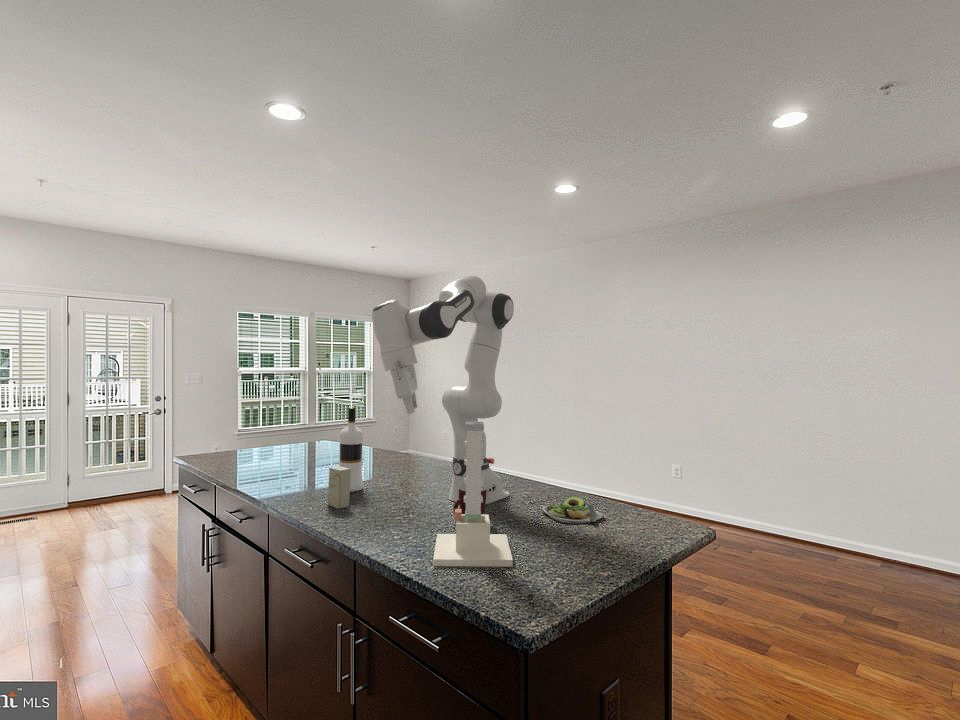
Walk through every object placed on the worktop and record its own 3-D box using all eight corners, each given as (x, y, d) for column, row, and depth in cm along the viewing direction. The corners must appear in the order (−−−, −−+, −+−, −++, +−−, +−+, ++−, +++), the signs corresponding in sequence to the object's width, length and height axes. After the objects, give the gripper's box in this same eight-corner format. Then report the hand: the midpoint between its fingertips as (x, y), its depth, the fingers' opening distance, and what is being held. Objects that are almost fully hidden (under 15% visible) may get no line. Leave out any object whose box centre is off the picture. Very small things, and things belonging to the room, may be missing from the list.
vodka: (347, 494, 179) (349, 408, 179) (331, 489, 184) (333, 407, 185) (368, 489, 186) (370, 407, 186) (352, 485, 192) (354, 406, 192)
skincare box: (327, 505, 163) (328, 467, 164) (339, 502, 167) (339, 465, 167) (338, 509, 159) (339, 470, 160) (350, 506, 163) (351, 468, 163)
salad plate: (618, 525, 148) (619, 509, 149) (563, 529, 143) (563, 513, 143) (586, 508, 167) (586, 493, 167) (536, 511, 162) (536, 496, 162)
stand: (437, 539, 132) (438, 501, 132) (506, 540, 132) (506, 501, 133) (432, 566, 114) (433, 521, 114) (512, 566, 115) (513, 522, 115)
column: (463, 515, 127) (465, 421, 127) (481, 515, 127) (483, 421, 127) (463, 523, 120) (465, 424, 121) (482, 523, 120) (484, 424, 121)
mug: (466, 531, 139) (466, 494, 140) (446, 524, 145) (446, 489, 145) (491, 523, 147) (492, 488, 147) (471, 517, 152) (472, 484, 153)
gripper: (407, 359, 125) (421, 413, 126) (414, 357, 146) (426, 403, 146) (382, 365, 125) (396, 419, 126) (393, 362, 145) (405, 408, 146)
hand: (413, 410), depth 136 cm, fingers open, 8 cm apart
